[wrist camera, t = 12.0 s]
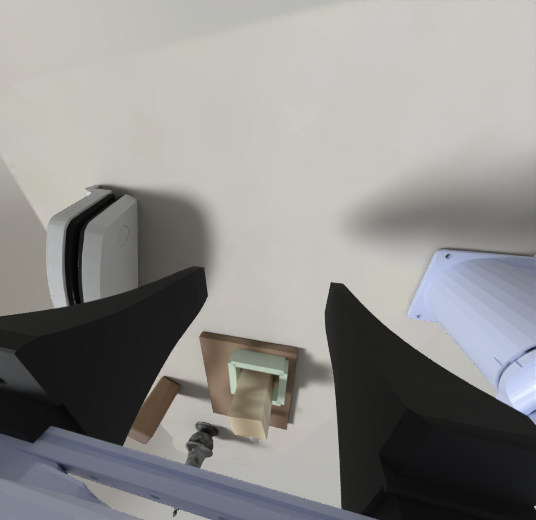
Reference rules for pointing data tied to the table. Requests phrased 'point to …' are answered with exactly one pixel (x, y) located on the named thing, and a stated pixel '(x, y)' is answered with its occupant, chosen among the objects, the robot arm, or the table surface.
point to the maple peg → (252, 404)
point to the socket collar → (261, 364)
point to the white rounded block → (93, 248)
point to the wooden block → (153, 410)
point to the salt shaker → (200, 446)
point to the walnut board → (217, 371)
